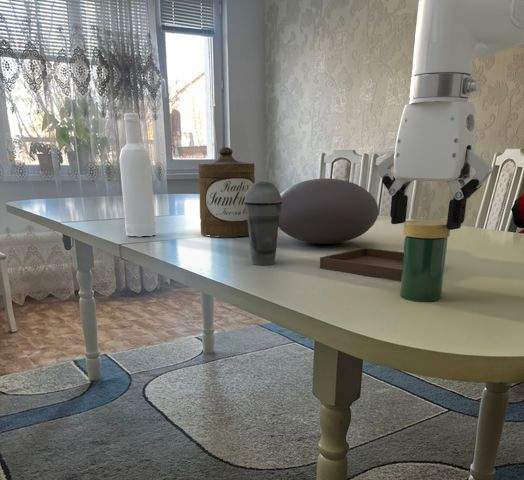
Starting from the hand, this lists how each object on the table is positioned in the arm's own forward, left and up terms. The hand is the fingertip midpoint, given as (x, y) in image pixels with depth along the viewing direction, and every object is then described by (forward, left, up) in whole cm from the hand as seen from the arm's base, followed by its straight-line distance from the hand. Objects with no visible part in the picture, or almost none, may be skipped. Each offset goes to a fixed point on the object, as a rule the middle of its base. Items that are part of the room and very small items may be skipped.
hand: (424, 225), depth 78 cm
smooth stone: (+42, -32, -11) cm, 54 cm away
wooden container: (+71, -28, -11) cm, 77 cm away
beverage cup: (+36, -4, -11) cm, 38 cm away
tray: (+16, -15, -11) cm, 24 cm away
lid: (0, 0, 0) cm, 0 cm away
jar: (0, 0, -11) cm, 11 cm away
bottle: (+87, -11, -11) cm, 88 cm away
